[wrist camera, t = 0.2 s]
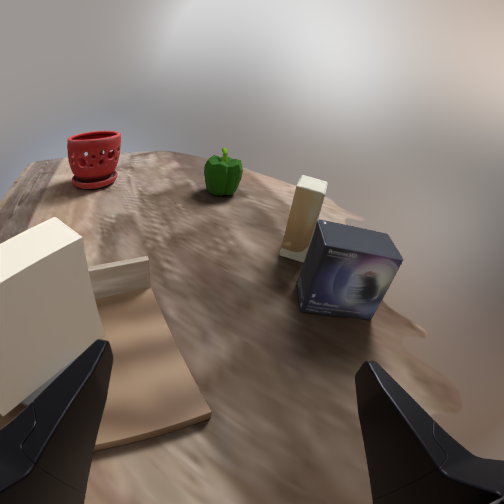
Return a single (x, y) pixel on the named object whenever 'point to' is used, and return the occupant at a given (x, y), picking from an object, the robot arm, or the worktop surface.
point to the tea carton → (43, 310)
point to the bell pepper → (222, 174)
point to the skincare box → (303, 217)
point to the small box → (346, 271)
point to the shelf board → (138, 361)
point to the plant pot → (94, 158)
